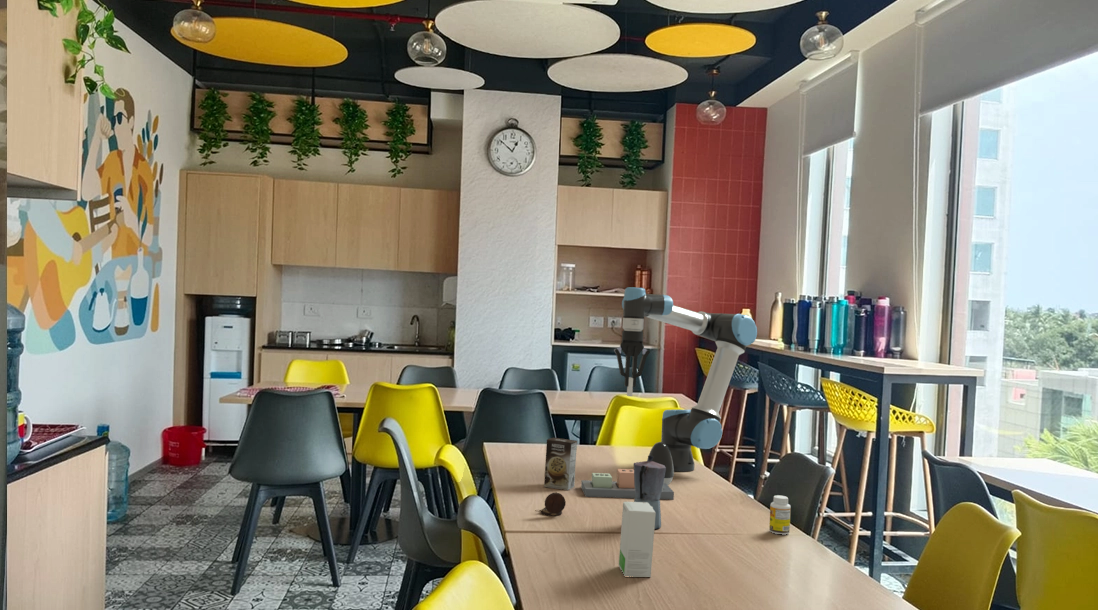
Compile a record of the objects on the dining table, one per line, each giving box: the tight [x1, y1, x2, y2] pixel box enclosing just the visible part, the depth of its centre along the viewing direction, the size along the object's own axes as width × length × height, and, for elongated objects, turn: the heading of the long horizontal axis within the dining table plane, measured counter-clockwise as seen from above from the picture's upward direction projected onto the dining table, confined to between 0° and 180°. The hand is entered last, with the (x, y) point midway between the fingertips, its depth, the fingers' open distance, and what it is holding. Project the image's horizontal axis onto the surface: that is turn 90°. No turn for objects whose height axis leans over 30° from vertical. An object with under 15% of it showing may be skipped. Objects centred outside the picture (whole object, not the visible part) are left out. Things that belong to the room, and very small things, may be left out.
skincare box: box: [618, 501, 656, 578], centre depth 187 cm, size 8×7×16 cm
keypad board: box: [580, 479, 675, 501], centre depth 268 cm, size 29×13×2 cm, turn 94°
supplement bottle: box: [768, 494, 791, 536], centre depth 228 cm, size 6×6×10 cm
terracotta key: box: [616, 468, 635, 488], centre depth 268 cm, size 6×6×5 cm
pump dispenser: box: [646, 441, 675, 486], centre depth 284 cm, size 10×10×15 cm
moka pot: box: [633, 454, 666, 530], centre depth 228 cm, size 10×15×20 cm, turn 161°
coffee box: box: [543, 437, 578, 491], centre depth 272 cm, size 9×6×16 cm
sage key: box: [591, 472, 613, 488], centre depth 267 cm, size 6×6×5 cm
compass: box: [534, 491, 566, 517], centre depth 236 cm, size 8×8×7 cm
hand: (629, 395), depth 289 cm, fingers closed
